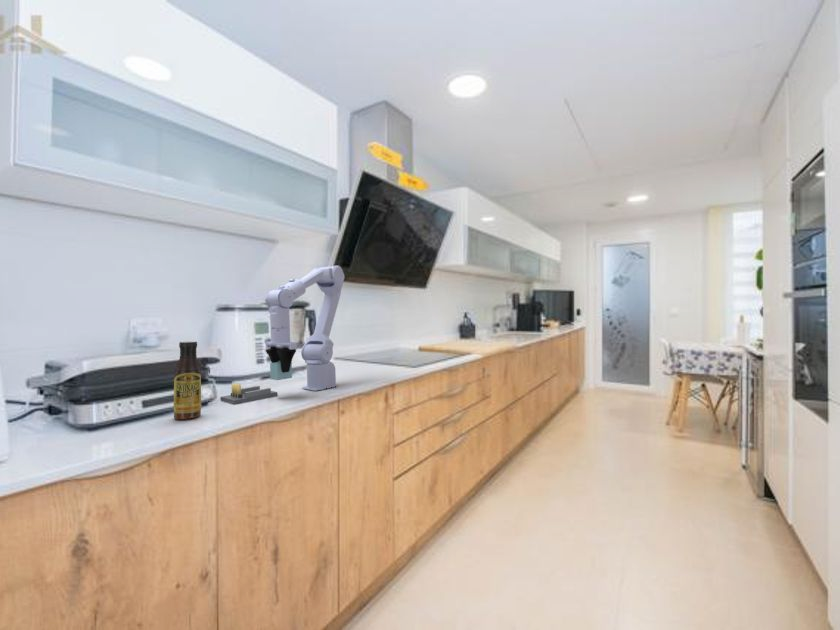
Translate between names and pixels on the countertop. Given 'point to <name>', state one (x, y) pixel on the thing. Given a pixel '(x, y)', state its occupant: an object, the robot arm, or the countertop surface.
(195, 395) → the sauce bottle
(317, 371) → the robot arm
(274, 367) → the plug block
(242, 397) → the header board
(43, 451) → the countertop surface
